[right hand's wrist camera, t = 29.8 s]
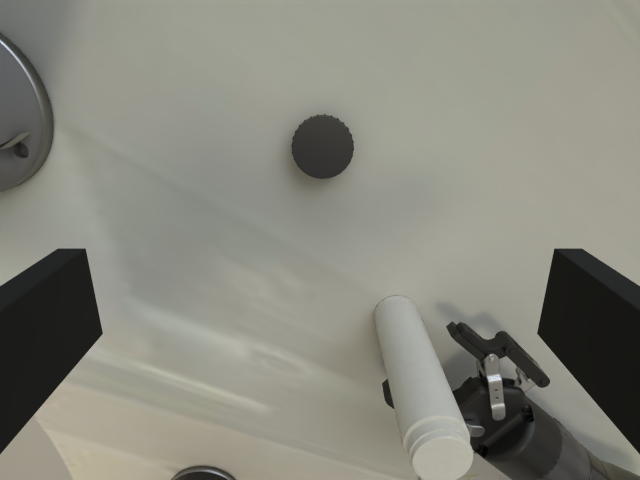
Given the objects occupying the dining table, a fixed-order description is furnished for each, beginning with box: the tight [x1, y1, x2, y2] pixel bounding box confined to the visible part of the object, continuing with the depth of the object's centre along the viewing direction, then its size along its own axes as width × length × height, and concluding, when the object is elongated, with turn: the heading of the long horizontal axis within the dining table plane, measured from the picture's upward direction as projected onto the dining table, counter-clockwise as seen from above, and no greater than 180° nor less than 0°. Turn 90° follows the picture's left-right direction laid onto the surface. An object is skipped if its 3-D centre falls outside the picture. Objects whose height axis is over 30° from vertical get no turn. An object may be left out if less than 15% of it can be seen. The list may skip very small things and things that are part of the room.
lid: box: [292, 114, 354, 179], centre depth 39 cm, size 6×6×2 cm
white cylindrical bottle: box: [374, 296, 473, 480], centre depth 38 cm, size 5×5×19 cm
